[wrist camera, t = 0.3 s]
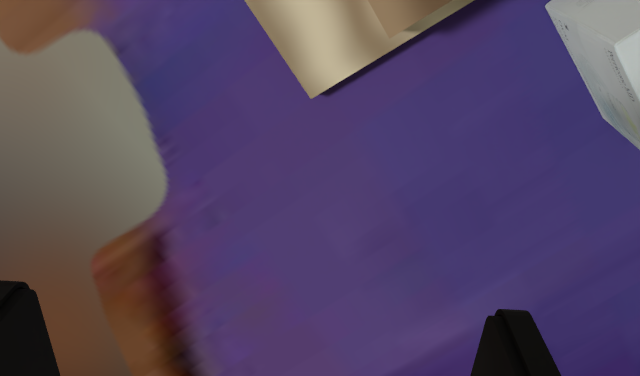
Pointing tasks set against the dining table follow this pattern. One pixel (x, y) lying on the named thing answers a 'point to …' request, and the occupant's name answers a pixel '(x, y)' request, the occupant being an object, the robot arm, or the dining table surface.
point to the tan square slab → (403, 12)
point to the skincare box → (605, 55)
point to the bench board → (333, 36)
